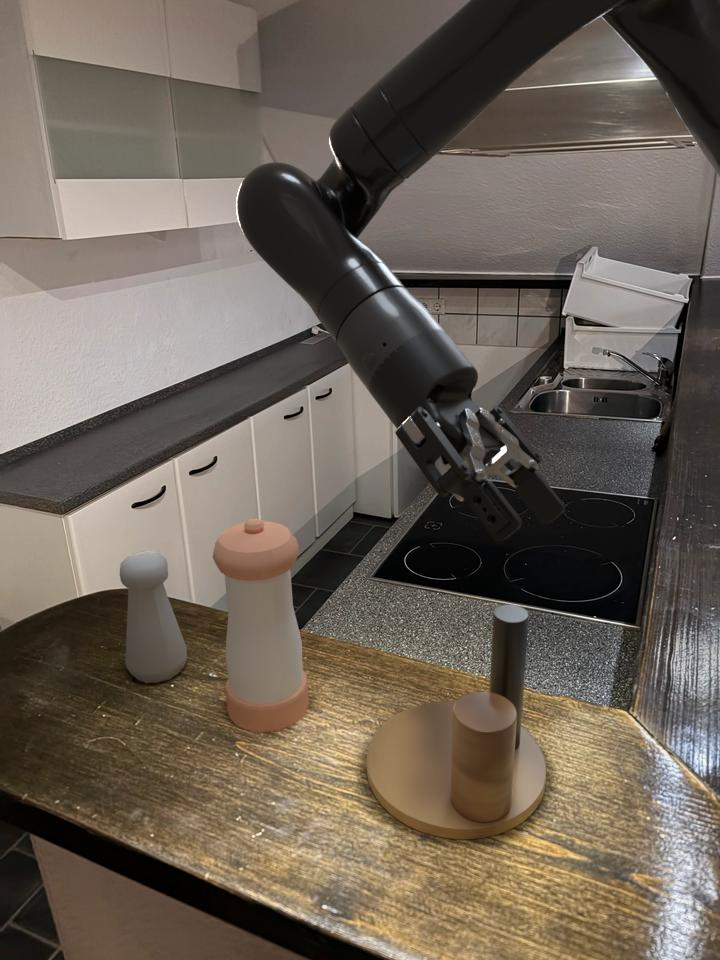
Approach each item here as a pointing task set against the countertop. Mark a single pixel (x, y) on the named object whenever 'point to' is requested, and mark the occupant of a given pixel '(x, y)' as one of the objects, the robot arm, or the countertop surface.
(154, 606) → the salt shaker
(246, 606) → the pepper shaker
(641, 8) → the robot arm
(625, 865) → the countertop surface
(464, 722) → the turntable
